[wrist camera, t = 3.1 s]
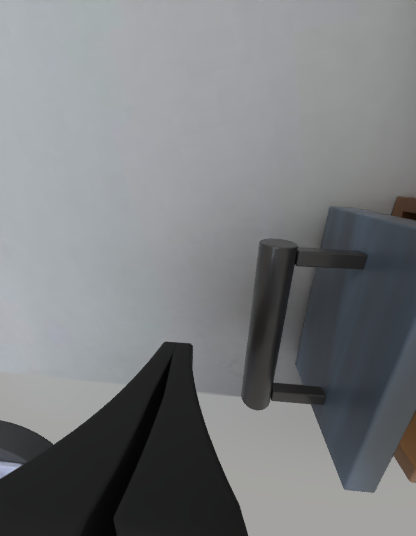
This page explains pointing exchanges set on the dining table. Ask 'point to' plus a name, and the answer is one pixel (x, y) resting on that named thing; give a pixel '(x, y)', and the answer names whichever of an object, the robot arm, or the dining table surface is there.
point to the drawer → (345, 340)
